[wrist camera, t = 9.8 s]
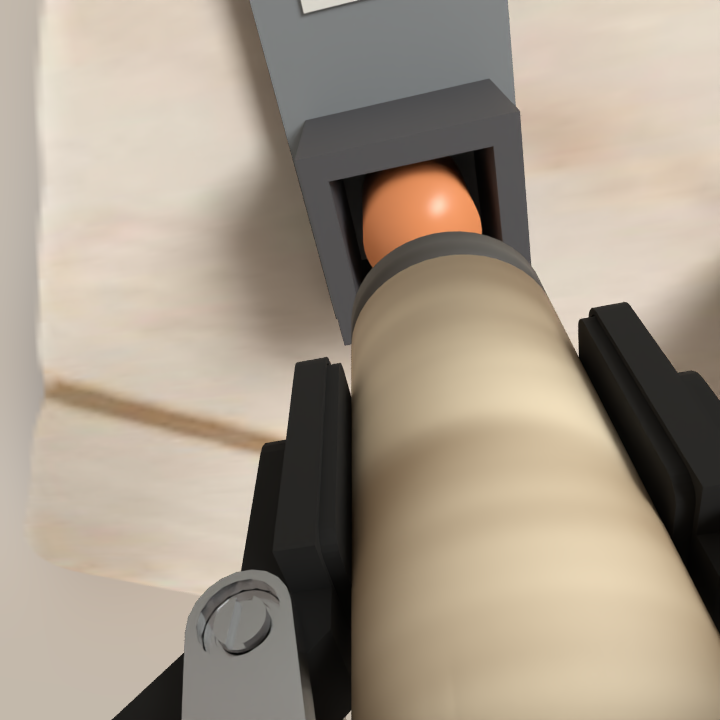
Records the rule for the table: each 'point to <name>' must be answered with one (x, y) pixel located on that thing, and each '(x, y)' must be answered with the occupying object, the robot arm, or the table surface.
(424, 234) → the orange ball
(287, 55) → the board
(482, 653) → the beige wooden cylinder
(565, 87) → the table surface
